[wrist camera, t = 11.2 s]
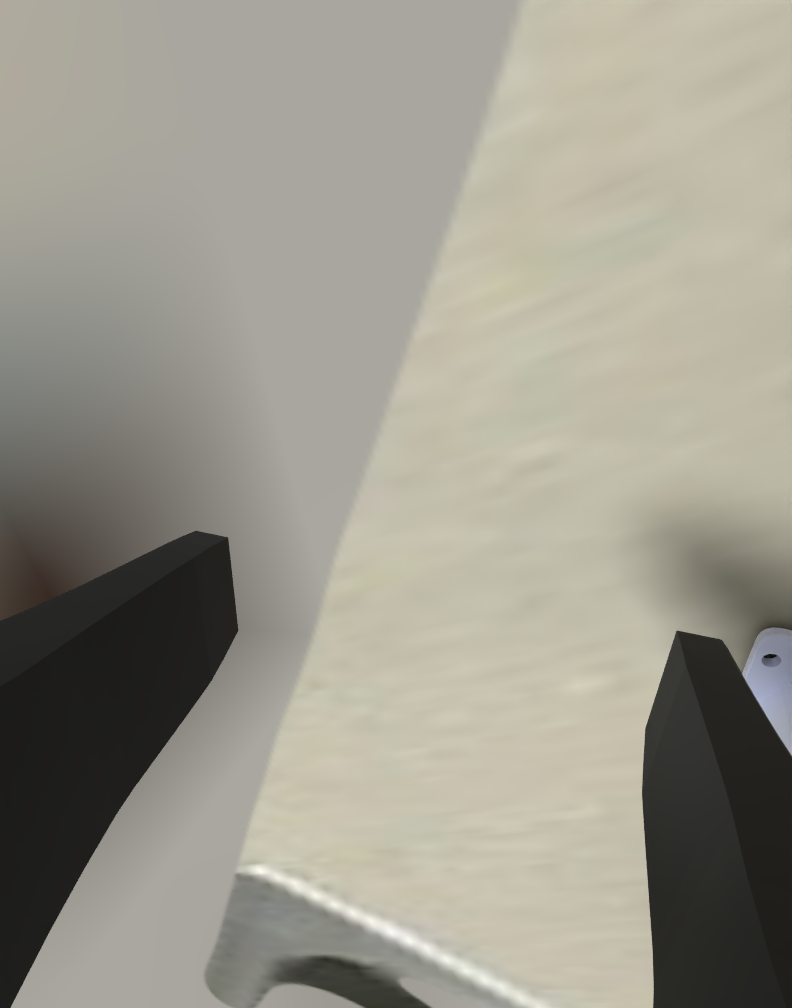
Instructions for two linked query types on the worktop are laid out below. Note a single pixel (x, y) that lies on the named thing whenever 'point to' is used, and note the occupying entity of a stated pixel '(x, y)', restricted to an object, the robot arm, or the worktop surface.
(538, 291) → the worktop surface
